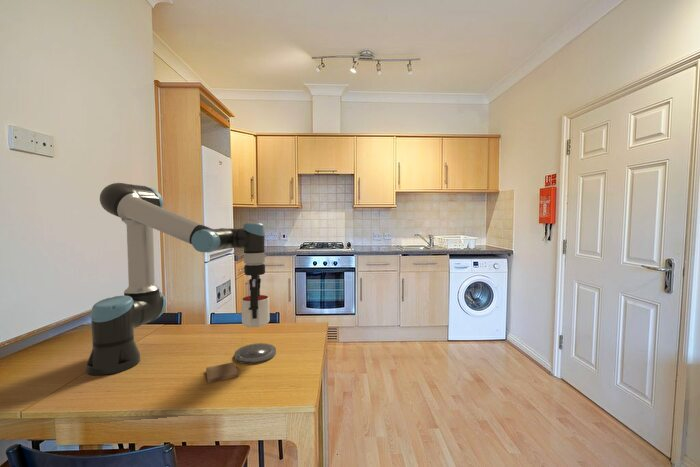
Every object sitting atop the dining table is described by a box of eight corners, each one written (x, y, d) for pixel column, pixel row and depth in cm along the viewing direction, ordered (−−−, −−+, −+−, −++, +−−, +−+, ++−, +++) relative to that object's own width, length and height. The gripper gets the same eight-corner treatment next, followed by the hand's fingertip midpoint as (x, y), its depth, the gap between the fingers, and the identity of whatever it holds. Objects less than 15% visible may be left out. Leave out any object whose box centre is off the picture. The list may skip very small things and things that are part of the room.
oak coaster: (208, 383, 99) (207, 379, 99) (206, 371, 107) (206, 367, 107) (238, 376, 103) (238, 372, 103) (234, 365, 111) (234, 362, 111)
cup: (273, 320, 124) (272, 295, 123) (263, 328, 114) (263, 301, 113) (248, 319, 125) (248, 294, 124) (237, 328, 115) (236, 301, 114)
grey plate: (232, 365, 111) (232, 360, 111) (237, 348, 125) (237, 344, 125) (275, 361, 114) (275, 356, 114) (275, 345, 129) (275, 341, 129)
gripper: (263, 267, 108) (265, 331, 109) (266, 260, 130) (267, 313, 131) (240, 268, 107) (242, 333, 107) (247, 260, 129) (248, 314, 129)
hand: (256, 322), depth 119 cm, fingers closed on cup, 10 cm apart
